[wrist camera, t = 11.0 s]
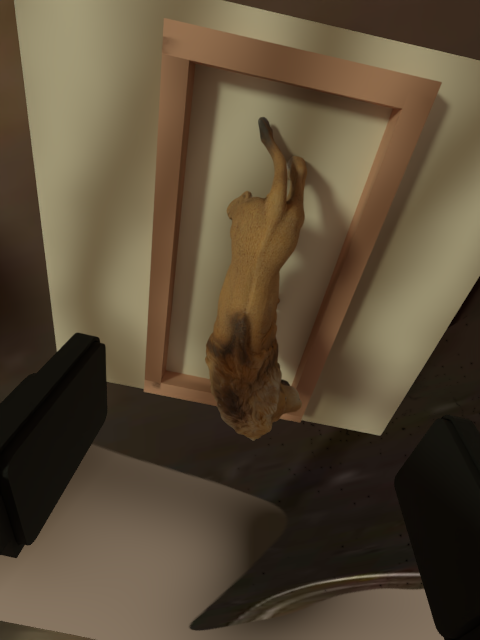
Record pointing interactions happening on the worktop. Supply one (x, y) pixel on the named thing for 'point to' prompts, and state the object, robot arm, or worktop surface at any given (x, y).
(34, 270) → the worktop surface
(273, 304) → the lion figurine
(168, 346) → the base plate
